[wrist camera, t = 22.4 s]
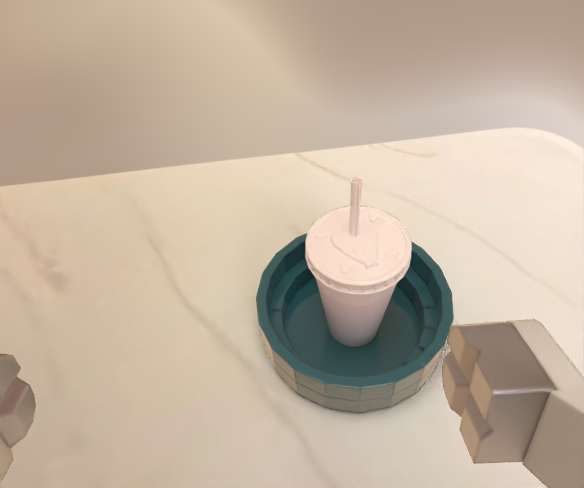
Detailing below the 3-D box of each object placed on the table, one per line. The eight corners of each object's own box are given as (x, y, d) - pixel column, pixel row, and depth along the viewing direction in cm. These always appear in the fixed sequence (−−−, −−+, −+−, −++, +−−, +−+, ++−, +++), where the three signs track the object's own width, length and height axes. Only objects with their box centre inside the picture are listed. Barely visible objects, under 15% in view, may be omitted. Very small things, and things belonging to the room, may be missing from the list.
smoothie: (372, 279, 36) (387, 137, 26) (412, 345, 32) (449, 209, 22) (298, 305, 35) (283, 167, 25) (330, 376, 31) (328, 249, 21)
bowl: (229, 329, 35) (218, 297, 32) (343, 235, 40) (344, 199, 37) (361, 458, 28) (364, 436, 25) (476, 324, 34) (492, 290, 30)
